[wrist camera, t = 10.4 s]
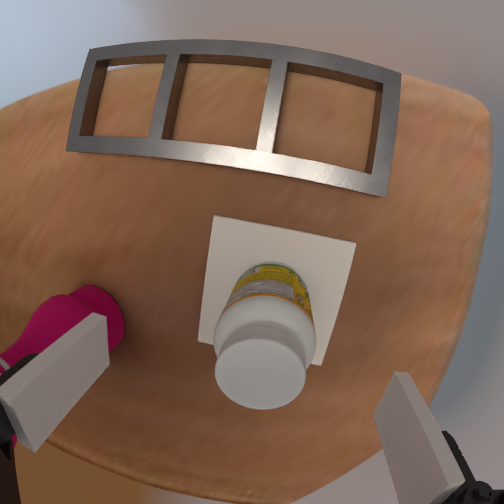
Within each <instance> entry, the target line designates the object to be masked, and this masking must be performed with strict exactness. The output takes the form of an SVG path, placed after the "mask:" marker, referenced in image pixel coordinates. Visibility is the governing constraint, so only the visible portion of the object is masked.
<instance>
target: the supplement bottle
mask: <svg viewBox="0 0 504 504" xmlns="http://www.w3.org/2000/svg"><path fill="white" fill-rule="evenodd" d="M213 343H214V349H215V353H216V356H217V361H216V364H215V378H216V381H217V384H218V386H219V388H220V389H221V391H222V392H223V393H224V394H225V395H226V396H227V397H228V398H229V399H231V400H232V401H234V402H236V403H237V404H240V405H242V406H245V407H248V408H252V409H261V410H264V409H274V408H278V407H281V406H284V405H286V404H288V403H289V402H291V401H292V400H294V399H295V398H296V397H297V396H298V395H299V394H300V392H301V391H302V389H303V387H304V384H305V380H306V369H307V368H308V367H309V365H310V364H311V362H312V360H313V358H314V355H315V351H316V344H317V341H316V332H315V326H314V321H313V315H312V309H311V304H310V298H309V293H308V290H307V287H306V285H305V283H304V281H303V280H302V278H301V277H300V275H299V274H298V273H297V272H296V271H295V270H294V269H292V268H290V267H289V266H286V265H284V264H280V263H274V262H266V263H261V264H258V265H255V266H253V267H251V268H249V269H248V270H247V271H245V272H244V273H243V274H242V275H241V276H240V278H239V279H238V281H237V282H236V284H235V286H234V288H233V290H232V293H231V295H230V297H229V299H228V301H227V303H226V305H225V307H224V309H223V311H222V313H221V315H220V317H219V320H218V322H217V324H216V327H215V331H214V337H213Z"/></svg>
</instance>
